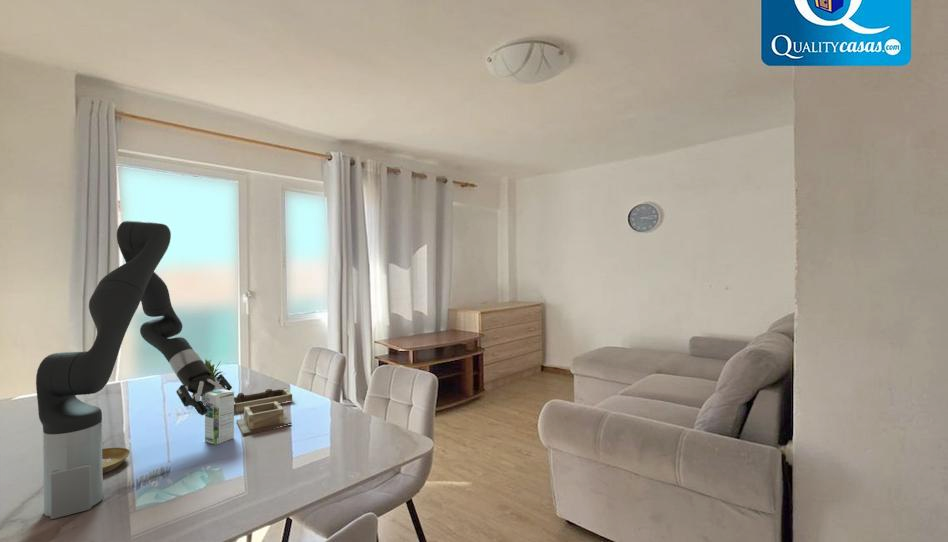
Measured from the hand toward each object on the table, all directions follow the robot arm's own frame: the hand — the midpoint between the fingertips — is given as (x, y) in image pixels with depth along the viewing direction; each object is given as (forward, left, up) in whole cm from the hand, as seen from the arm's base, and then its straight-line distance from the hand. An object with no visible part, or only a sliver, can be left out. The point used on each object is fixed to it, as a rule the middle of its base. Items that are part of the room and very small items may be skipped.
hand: (218, 408), depth 124 cm
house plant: (+51, 0, -10) cm, 52 cm away
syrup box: (0, 0, -10) cm, 10 cm away
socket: (+6, -13, -9) cm, 17 cm away
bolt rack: (+29, -16, -9) cm, 34 cm away
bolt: (+29, -16, -4) cm, 34 cm away
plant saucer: (-1, +28, -10) cm, 29 cm away
